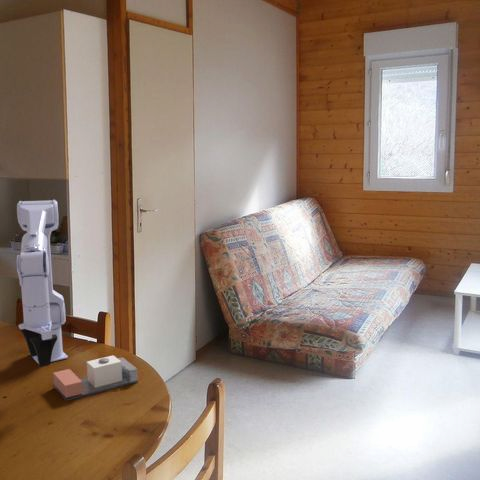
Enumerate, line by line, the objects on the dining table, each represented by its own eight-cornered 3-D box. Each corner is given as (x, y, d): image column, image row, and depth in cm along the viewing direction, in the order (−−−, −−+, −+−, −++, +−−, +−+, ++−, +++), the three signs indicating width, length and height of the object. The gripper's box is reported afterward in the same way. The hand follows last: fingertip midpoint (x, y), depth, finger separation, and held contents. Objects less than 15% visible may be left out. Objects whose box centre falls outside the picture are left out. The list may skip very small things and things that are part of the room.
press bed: (54, 387, 143) (53, 373, 142) (123, 370, 153) (122, 357, 152) (66, 401, 136) (65, 387, 135) (137, 382, 146) (137, 368, 145)
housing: (87, 380, 146) (86, 360, 145) (114, 373, 150) (113, 353, 149) (95, 387, 142) (93, 366, 141) (122, 380, 146) (121, 360, 144)
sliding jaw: (53, 384, 143) (53, 372, 142) (70, 380, 145) (69, 368, 145) (66, 397, 136) (65, 385, 135) (82, 393, 138) (82, 381, 137)
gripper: (9, 299, 137) (14, 354, 139) (26, 315, 125) (31, 375, 127) (40, 294, 141) (44, 348, 143) (59, 309, 129) (63, 367, 131)
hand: (40, 360), depth 136 cm, fingers open, 7 cm apart
